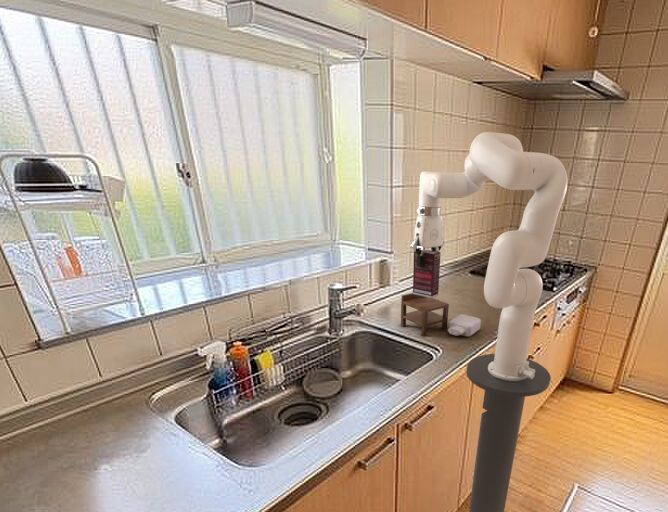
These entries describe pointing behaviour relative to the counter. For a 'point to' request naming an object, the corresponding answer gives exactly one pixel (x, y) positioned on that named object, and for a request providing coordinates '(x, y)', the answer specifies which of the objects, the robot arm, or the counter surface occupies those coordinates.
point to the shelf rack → (423, 311)
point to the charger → (464, 325)
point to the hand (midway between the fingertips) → (426, 265)
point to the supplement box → (427, 275)
